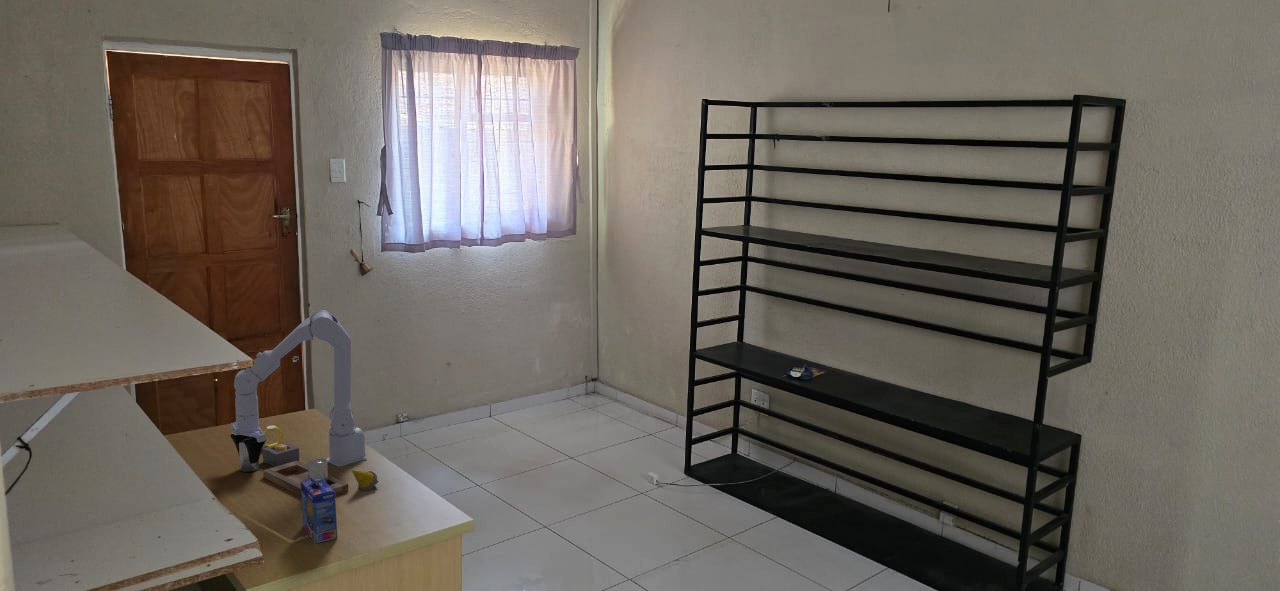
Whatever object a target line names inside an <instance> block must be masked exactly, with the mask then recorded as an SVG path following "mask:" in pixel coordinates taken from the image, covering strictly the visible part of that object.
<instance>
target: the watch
mask: <svg viewBox="0 0 1280 591" xmlns="http://www.w3.org/2000/svg"><path fill="white" fill-rule="evenodd" d="M275 430H278V432H279V439H278V440H277V441H276V442H274V443H270V444H267V443H266V442H265V443H264V445H263V446H266V447H269V446H273V445H276V444H280V443H282V442H283V438H284V433H283V431H282V430H281V429H280V428H279V427H277V426H276V425H275V424H274V425H268V426H266V428H265V429H264V431H262V432H263V433H264V434H265V436H266V435H267V433H269V432H272V431H275Z"/></svg>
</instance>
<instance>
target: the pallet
mask: <svg viewBox="0 0 1280 591" xmlns="http://www.w3.org/2000/svg"><path fill="white" fill-rule="evenodd" d="M262 474H263V478H264V479H265V480H268V481H270V482H272V483H274V484H276V485H277V486H279V487H282V488H284V489H286V490H288V491H290V492H292V493H294V494H296V495H298V496H300V497H302V495H301V482H302V481H305V480H308V464H305V463H303V462H301V461H300V460H299V461H293V462H290V463H287V464H283V465H280V466H276V467H273V466H272V467H269V468H266V469H263V473H262ZM328 485H329V486H331V487H332V488H333V489H334V490H335V497H336V496H339V495H342V494H344V493H348V492H349V483H347V482H345V481H344V480H340V479H338V478H336V477H334V476H332V475H330V474H328Z"/></svg>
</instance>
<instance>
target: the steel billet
mask: <svg viewBox="0 0 1280 591" xmlns="http://www.w3.org/2000/svg"><path fill="white" fill-rule="evenodd" d="M248 439H251V438H246V439H242V440H240V441H239V454H238V457H239V456H240V457H239V469H240V471H241V472H243V473H244V472H247V473H249V472H250V473H251V472H255V471H257V470H258V469H259V468H260V463H259V461H258V462H257V463H253V464H251V463H250V461H249V455H248V451H247V448H246V445H245V444H244V442H243V441H244V440H248Z"/></svg>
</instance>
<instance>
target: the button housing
mask: <svg viewBox="0 0 1280 591" xmlns="http://www.w3.org/2000/svg"><path fill="white" fill-rule="evenodd" d="M280 444H285V445H287V449H286V450H283V451H279V452H278V451H275V446H276V445H279V444H276V445H273V446H269V447H267V446H266V447H262V462H263V463H265V464H268V465H269V466H271V467H272V468H273V467H276V466H280V465H283V464H287V463H290V462H293V461H299V462H300V448H299V447H297V446H295V445H293V444H291V443H289V442H286V441H284V442H280Z"/></svg>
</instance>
